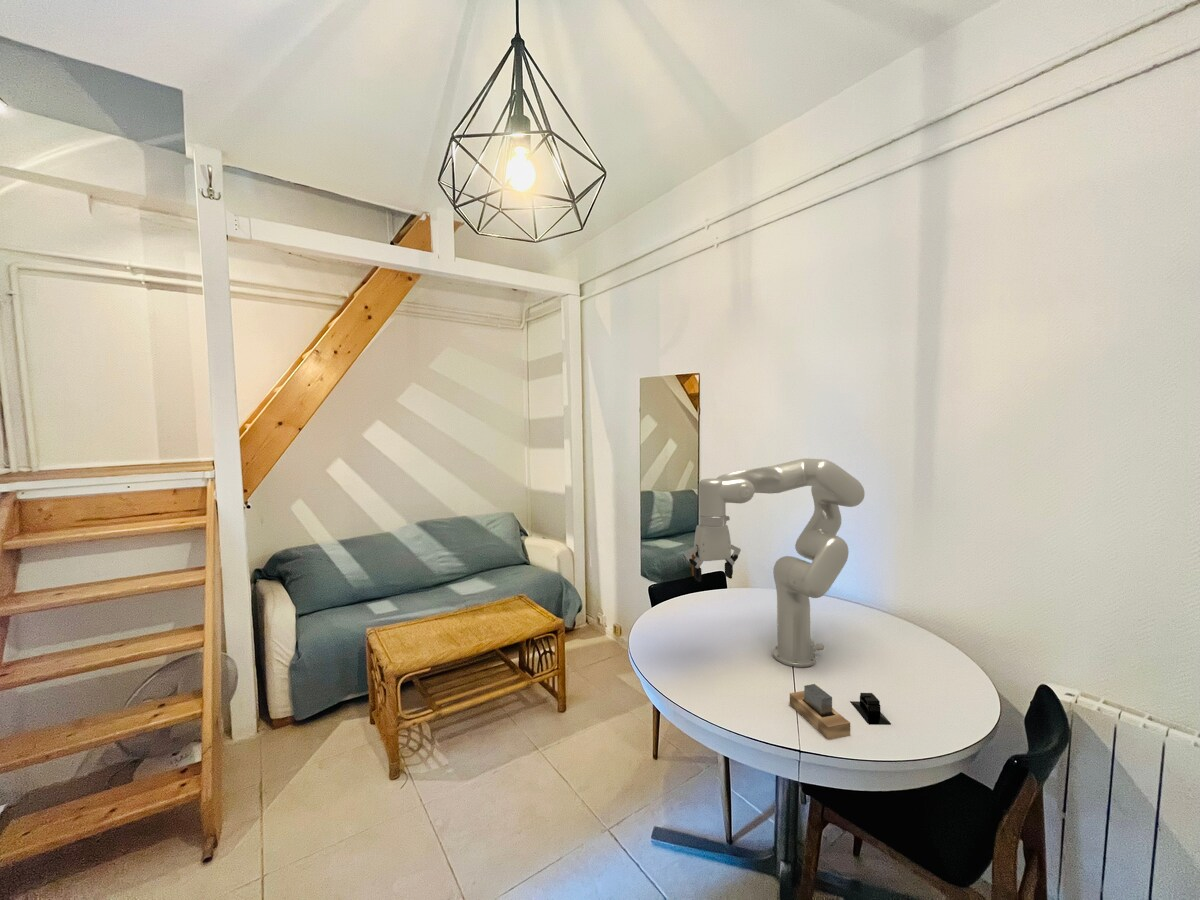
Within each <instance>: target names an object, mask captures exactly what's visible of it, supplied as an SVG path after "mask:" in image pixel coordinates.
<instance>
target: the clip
mask: <svg viewBox="0 0 1200 900" xmlns="http://www.w3.org/2000/svg"><path fill="white" fill-rule="evenodd" d="M803 689H804V690H803V691H804V701H805V702H806V704H807V705H808V706H809V707H811V708H812V709H813V710H814V711H815V712H816V713H818V714H819V715H820V716H821V717H828V716H831V714H832V708H833V697H832V696H831V695H830V694H829V693H827V692H826V691H824V690H823V689H822V688H821V687H820V686H818V685H816V684H815V683H812V684H807V685H804V687H803Z"/></svg>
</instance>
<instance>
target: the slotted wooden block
mask: <svg viewBox="0 0 1200 900" xmlns="http://www.w3.org/2000/svg"><path fill="white" fill-rule="evenodd" d="M789 705H790V707H791V708H793V709H794V710H795V711H796V712H797V713H799V714H800V716H802V717H803V719H805V720H806V721H807V722H808V723H809V724H810V725H812V726H813V727H814V728H815V729H816V730H817V731H818V732H819V733H820V734H821V735H822V736H823V737H824V738H825V739H826V740H829V741H830V740H834V739H838V738H844V737H849V736H851V722H850V721H849V720H847V718H845V717H844V716H843V715H842V714H840V713H839V712H838V711H836V710H835V709H834V708H833V707H832V714H831V716H828V717H821V716H820V715H819V714H818V713H816V712H815V711H814V710H813V709H812V708H811V707H809V706H808V705H807V704H806V702H805V701H804V690H800V691H795V692H790V693H789Z"/></svg>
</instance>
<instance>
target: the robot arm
mask: <svg viewBox="0 0 1200 900" xmlns="http://www.w3.org/2000/svg"><path fill="white" fill-rule="evenodd" d="M803 487H811V489H810V491H811V496H812V499H813V504H814V507H813V508H814V510H813V513H812V516H811V517H810V520H809V521H808V522H807V524H806V525H805V527H804V528H803V530H802V532H801V533H800V534H799V536H798V538H797V539H796V542H795V544H794V547H795V548H794V549H795V551H796V553H797V554H798V555H799V556H800V557H802V558H804V559H808V560H809V561H811V562H809V561H806V560H804V559H801V558H798V557H795V556H791V555H790V556H789V555H785V556H781V557H780V558H778V559H777V560H776V561H775V563H774V566H773V579H774V584H775V588H776V589H775V590H776V608H777V609H776V621H777V622H776V623H777V625H776V627H777V629H776V631H777V634H776V635H777V637H776V638H777V645H776V646H775V647H773V648H772V657H773V658H774V659H775V660H776V661H778V662H780V663H781V664H783V665H787V666H790V667H797V668H807V667H811V666H813V665H815V664H816V662H817V656H816V654H815V652H817V651H823V650H825V645H824V644H823V643H815V641H813V640H812V641H811V603H810V601H811V600H810V598H811V599H818V598H821V597H823V596H825V595H826V594H827V593H828V592H829V590H830V589H831V587H832V586H833V584H834V583H835V581H836V580H837V578H838V576H839V575H840V573H841V572H842V570H843V568H844V567H845V565H846V564H847V561H848V558H849V552H850V551H849V547H848V543H847V542H846V541H845V539H843V538H842V537H840V536H839V535H837V533H838V532H839V530H840V528H841V526H842V513H841V510H840V507H839V506H842V507H845V508H853V507H857V506H859V505H860V504H862V502H863V501H864V499H865V489H864V486H863V484H862V483H861V482H860V481H859V480H858V479H856V477H854V476H853V475H851V474H850V473H848V472H847V471H846V470H844V469H843V468H842V467H841V466H839V465H838V464H836V463H835V462H833V461H830V460H828V459H823V458H800V459H795V460H792V461H786V462H783V463H778V464H774V465H770V466H763V467H757V468H752V469H745V470H743V469H742V470H739V471H733V472H730V473H725V474H721V475H719V476H717V477H716V478H704V479H701V480H700V481H699V483H698V508H699V511H698V513H699V515H698V516H699V517H698V518H699V519H698V521H699V524H697V525H696V527H695V531H694V532H695V533H694V541H693V546H692V548H690V549H688V550H687V551H685V552H684V556H685V558H686V560H687V562H689V564H690V565H692V567H693V578H694V579H695V580H696V581H697V582H699V583H701V582H702V581H703V580H702V578H703V577H702V574H703V573H702V568H701V567H702V566H701V565H702V564H703V563H704V562H712V561H722V560H723V561H725V563H724V576H725V577H727V578H728V579H729V580H731V579H733V575H734V570H733V568H734V567H733V566H734V565H735V562H736V561H737V560H738V558H739V555H740V553H741V548H740V547H737V546H735V545H733V544H732V543H731V542H732V541H731V534H730V531H729V526H728V525H727V521H728V522H729V521H730V516H729V515H726V510H727V509H726V508H727V507H726V505H727V504H729V503H730V504H745V503H748V502H750V501H751V500H752V499H753V497H754V495H755V494H771V495H772V494H780V493H784V492H788V491H791V490H795V489H800V488H803ZM732 550H733V553H732ZM693 556H694V557H695V558H693Z"/></svg>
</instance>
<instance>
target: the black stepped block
mask: <svg viewBox="0 0 1200 900" xmlns="http://www.w3.org/2000/svg"><path fill="white" fill-rule="evenodd" d="M849 702H850V703H851V705H852V706H853V708H854V709H855V710H856V711H857V713H859V715H860V716H861V717H862V719H863V720H864V721H865V723H867V725H869V726H873V725H874V726H881V725H882V726H884V725H885V726H892V725H891V724H892V723H891V722H890V720H888V718H887V717H886V716H885V715H884V714H883V712H881V705H880V704H881V703H880V702H881V701H880V700H879V699H878V698H877V697H876V696H875V694H874V693H873V692H860V695H859V701H855V700H853V701H852V700H850V701H849Z"/></svg>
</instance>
